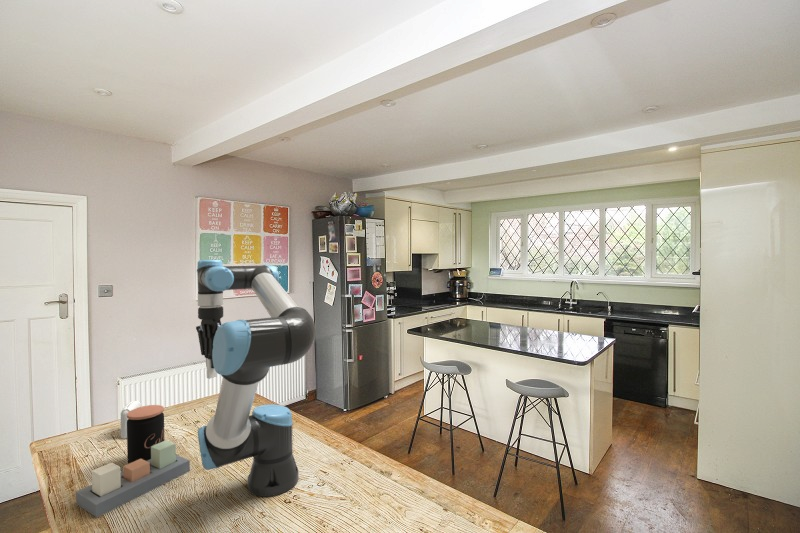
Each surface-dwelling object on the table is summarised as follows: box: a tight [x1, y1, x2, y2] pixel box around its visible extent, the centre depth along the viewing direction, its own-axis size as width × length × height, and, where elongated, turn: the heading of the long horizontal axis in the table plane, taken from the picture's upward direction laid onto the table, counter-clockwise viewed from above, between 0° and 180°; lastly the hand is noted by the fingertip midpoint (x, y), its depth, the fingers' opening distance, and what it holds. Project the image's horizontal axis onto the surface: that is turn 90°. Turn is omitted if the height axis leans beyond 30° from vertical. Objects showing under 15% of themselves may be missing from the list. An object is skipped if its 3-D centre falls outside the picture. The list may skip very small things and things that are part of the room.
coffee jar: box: [126, 404, 166, 464], centre depth 131 cm, size 11×11×18 cm
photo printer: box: [120, 400, 142, 440], centre depth 153 cm, size 10×4×12 cm, turn 13°
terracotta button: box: [122, 459, 150, 483], centre depth 118 cm, size 5×5×6 cm
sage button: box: [151, 439, 177, 469], centre depth 125 cm, size 5×5×6 cm
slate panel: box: [75, 454, 191, 518], centre depth 118 cm, size 12×26×4 cm, turn 151°
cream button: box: [91, 462, 121, 497], centre depth 111 cm, size 5×5×6 cm
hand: (211, 377), depth 127 cm, fingers closed
